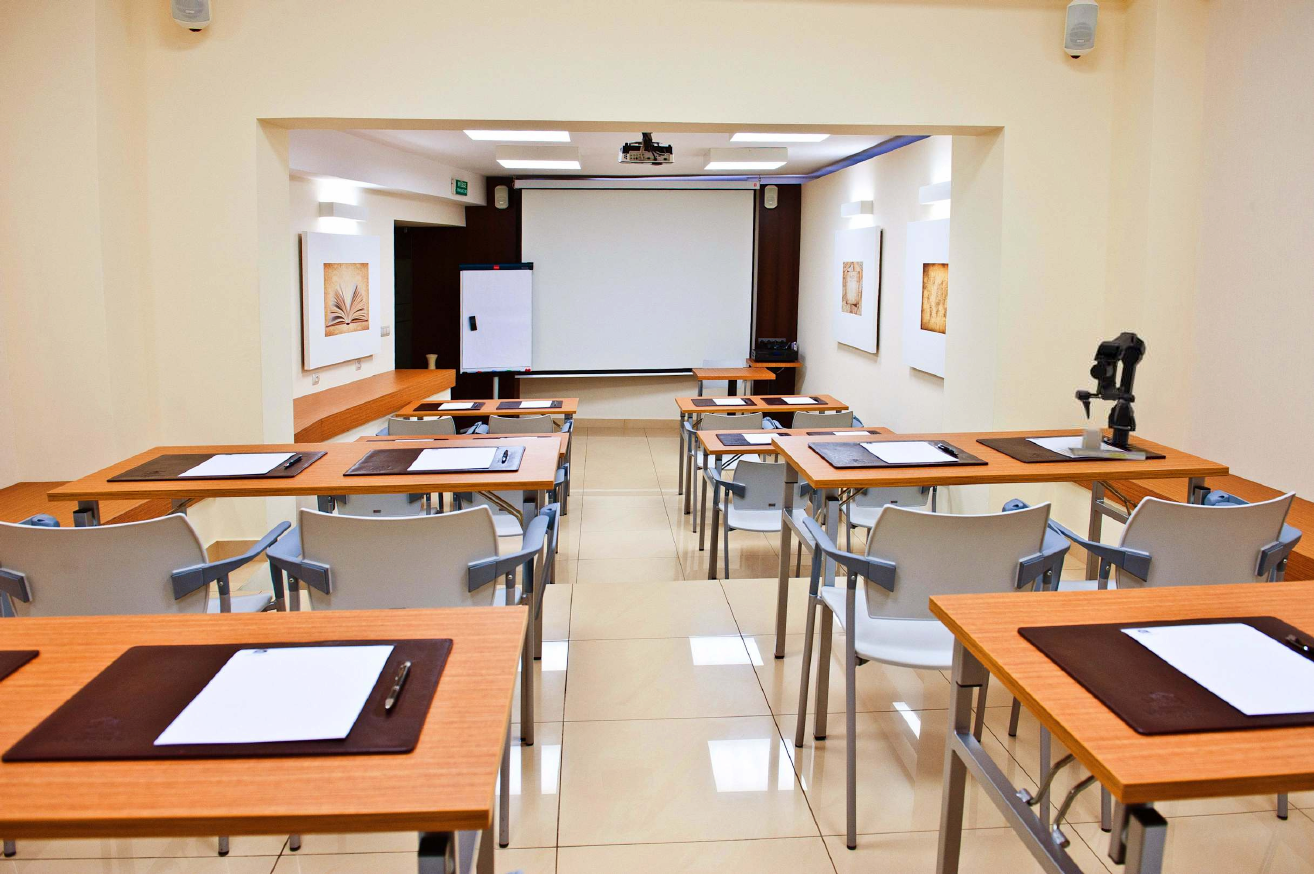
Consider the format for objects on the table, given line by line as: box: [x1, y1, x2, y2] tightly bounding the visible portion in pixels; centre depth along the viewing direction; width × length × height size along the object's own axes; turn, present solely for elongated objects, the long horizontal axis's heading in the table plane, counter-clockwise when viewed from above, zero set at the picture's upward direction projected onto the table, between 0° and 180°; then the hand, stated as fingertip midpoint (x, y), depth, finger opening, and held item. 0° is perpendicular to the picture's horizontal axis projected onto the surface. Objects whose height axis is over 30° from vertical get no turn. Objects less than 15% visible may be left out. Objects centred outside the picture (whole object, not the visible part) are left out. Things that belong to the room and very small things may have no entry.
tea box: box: [1081, 427, 1103, 449], centre depth 332 cm, size 5×7×8 cm
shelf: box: [1068, 447, 1146, 461], centre depth 329 cm, size 13×23×3 cm, turn 75°
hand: (1101, 419), depth 329 cm, fingers open, 9 cm apart
